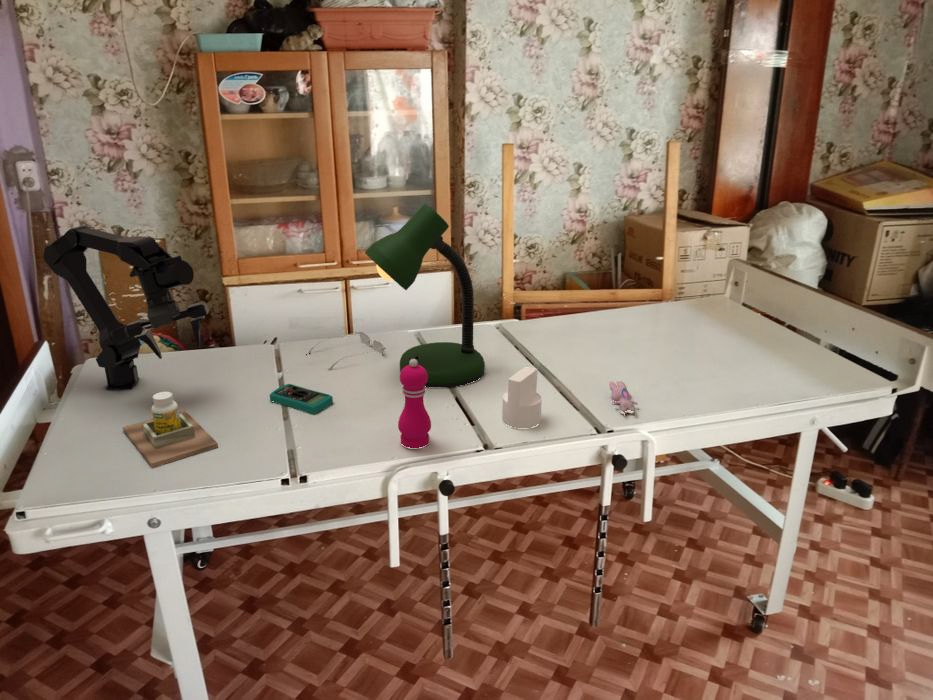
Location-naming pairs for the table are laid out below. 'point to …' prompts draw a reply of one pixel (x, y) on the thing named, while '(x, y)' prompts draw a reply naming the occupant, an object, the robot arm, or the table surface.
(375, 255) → the desk lamp
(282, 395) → the digital multimeter
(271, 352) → the table surface
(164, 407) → the supplement bottle
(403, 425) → the pepper mill
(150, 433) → the bottle holder
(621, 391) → the rabbit figure
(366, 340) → the eyeglasses
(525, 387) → the cylinder with rectangular tab
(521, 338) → the table surface
